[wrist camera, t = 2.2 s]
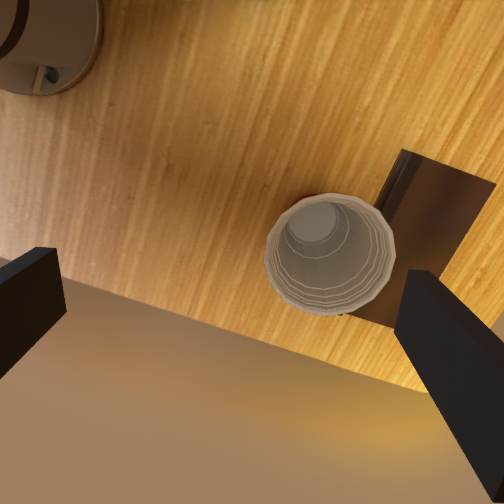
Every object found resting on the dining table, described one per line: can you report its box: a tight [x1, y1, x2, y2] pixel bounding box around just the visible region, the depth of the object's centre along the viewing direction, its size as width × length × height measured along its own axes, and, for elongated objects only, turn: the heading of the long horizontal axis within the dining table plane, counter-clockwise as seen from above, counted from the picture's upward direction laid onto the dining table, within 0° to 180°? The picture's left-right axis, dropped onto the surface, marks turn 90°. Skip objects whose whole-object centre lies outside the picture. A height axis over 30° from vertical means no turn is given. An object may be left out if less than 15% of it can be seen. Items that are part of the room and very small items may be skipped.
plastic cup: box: [263, 193, 396, 316], centre depth 35 cm, size 11×11×12 cm
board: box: [338, 149, 497, 329], centre depth 41 cm, size 11×20×2 cm, turn 161°
